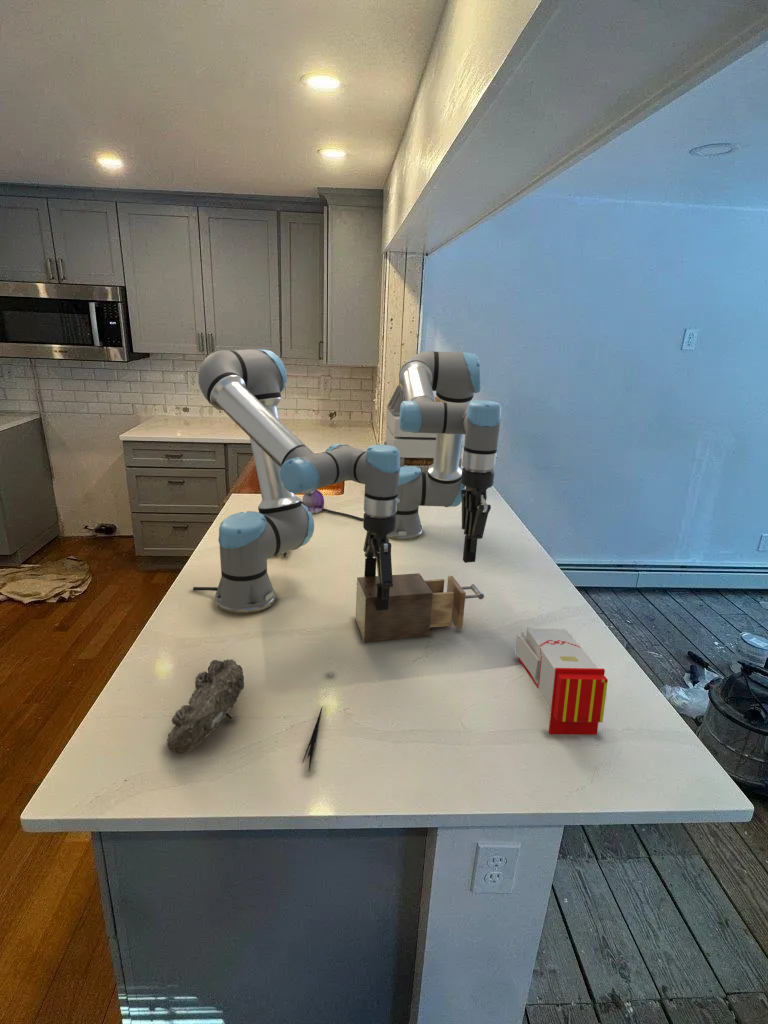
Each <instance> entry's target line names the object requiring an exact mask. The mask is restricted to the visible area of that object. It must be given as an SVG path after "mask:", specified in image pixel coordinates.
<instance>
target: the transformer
mask: <svg viewBox="0 0 768 1024" xmlns="http://www.w3.org/2000/svg"><path fill="white" fill-rule="evenodd" d="M434 398H435V402H440V400H439V399H438V398H437V396H434ZM403 401H406V399H405V392H404V389H403V388H402V386H401V384H400V385H399V384H398V385H397V386H396V388H395V390H394V392H393V394H392V395H391V398H390V400H389V402H388V404H387V405H386V413H385V414H386V415H385V423H386V428H385V438H384V442H383V445H390V446H394V447H396V448H397V449H398V450H399V452H400V467H405V466H413V467H429V466H430V465H432V464H433V461H434V452H435V443H436V434H437V433H412V432H404V431H402V430H401V429H400V405H401V403H402V402H403ZM463 442H464V441H463V440H462V445H461V452H460V460H459V468H460V469H461V470H462V461H463V457H462V454H463Z"/></svg>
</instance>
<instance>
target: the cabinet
mask: <svg viewBox="0 0 768 1024" xmlns="http://www.w3.org/2000/svg"><path fill="white" fill-rule="evenodd" d="M392 580H393V587H390V588H389V603H388V610H376V600H377V587H376V584H377V583H379V580H378V575H376V576H372V577H364V576H360V577H359V576H357V577H356V592H355V593H356V595H355V597H356V598H355V622H356V624H357V627H358V630H359V632H360V635H361V637H362V641H363V642H364V643H371V642H372V643H373V642H380V641H381V642H382V641H392V640H402V639H403V640H404V639H413V638H414V639H415V638H423V637H430V630H431V627H430V620H431V608H432V596H433V593H432V591H431V590H430V588H429V587H428V585H427V584H426V582H425V581H424V580H425V579H424V577H423V576H422V575H421V573H417V572H416V573H403V574H392Z"/></svg>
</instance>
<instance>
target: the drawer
mask: <svg viewBox="0 0 768 1024" xmlns="http://www.w3.org/2000/svg"><path fill="white" fill-rule="evenodd" d="M424 581H425V582H426V584H427V585H428V587H429V588H430V590H431V591H432V593H433V596H432V608H431V620H430V628H440V627H450V626H452V622H453V624H454V625H455V627H456V628H457V629H463V624H464V614H465V605H466V604H465V603H466V600H467V599H478V600H484V598H485V594H484V593H483V592H482V590H480V588H479V587H478V586H477V585H476V584H475V583H471V584H470V585H467V586H461V585H460V583H459V582H458V580H456V578H455V577H454V575H448V576H447V583H446V584H447V586H446V591H444V590H445V579H444V578H440V579H438V578H437V579H427V580H426V579H424ZM465 590H471V591H472V592H473V594H469V595H468V594H467V593H466V591H465Z"/></svg>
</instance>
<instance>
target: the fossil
mask: <svg viewBox="0 0 768 1024" xmlns="http://www.w3.org/2000/svg"><path fill="white" fill-rule="evenodd" d="M243 670H244V669H243V667H242V665H240V664H237V662H236V661H235V660H234V659H232V658H231V659H227V658H226V659H224V660H223V661H222V660H217V659H212V660H211V661H210V663H209V665H208V666H207V671H201V672H199V673H198V674H197V675H196V676H195V680H194V684H195V685H194V687H195V689H194V690H193V693H192V694H191V697H190V698H189V700H188V704H184V705H182V706H181V707H180V709H177V710H176V711H175V713H174V715H173V716H172V718H171V723H172V724H173V727H172V730H171V731H170V732H168V734H167V738H166V741H167V742H166V745H167V749H168V750H169V751H173V752H174V753H176V754H178V753H182V752H188V751H189V752H192V751H193V750H195V748H196V747H197V746H199V744H200V743H201V742H203V741H204V740H205V739H206V738H207V737H208V736H209V735H210V734H211V733H212V732H214V730H215V729H217V727H218V726H219V724H220V722H221V721H222V720H223V719H224V718H225V716H226V717H227V719H229V720H233V717H232V715H230V714H229V710H230V709H231V708H234V706H235V704H236V703H237V702H238V699H239V697H240V695H241V693H242V691H243V690H245V689H244V688H245V675H244V671H243Z"/></svg>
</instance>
